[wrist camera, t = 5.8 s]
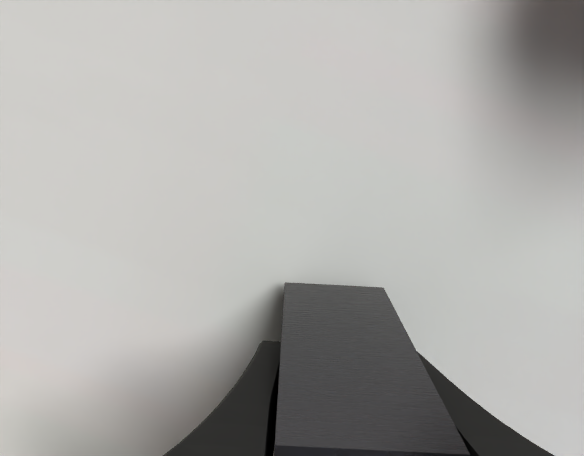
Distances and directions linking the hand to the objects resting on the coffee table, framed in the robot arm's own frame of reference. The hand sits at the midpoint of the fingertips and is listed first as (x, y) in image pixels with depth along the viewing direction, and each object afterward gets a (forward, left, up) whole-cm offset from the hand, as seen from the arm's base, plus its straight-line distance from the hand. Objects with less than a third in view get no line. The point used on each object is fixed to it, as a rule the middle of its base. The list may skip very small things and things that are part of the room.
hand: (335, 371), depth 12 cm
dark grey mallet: (0, +6, -2) cm, 7 cm away
